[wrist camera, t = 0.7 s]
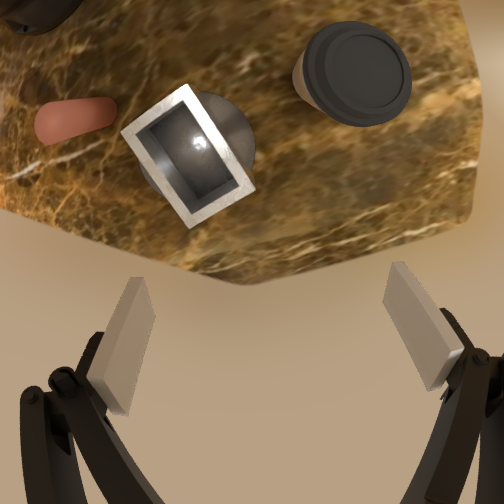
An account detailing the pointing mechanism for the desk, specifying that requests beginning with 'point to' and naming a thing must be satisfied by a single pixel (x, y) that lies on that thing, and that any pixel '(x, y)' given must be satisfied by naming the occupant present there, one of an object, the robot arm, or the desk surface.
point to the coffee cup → (354, 74)
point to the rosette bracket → (195, 152)
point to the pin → (73, 118)
